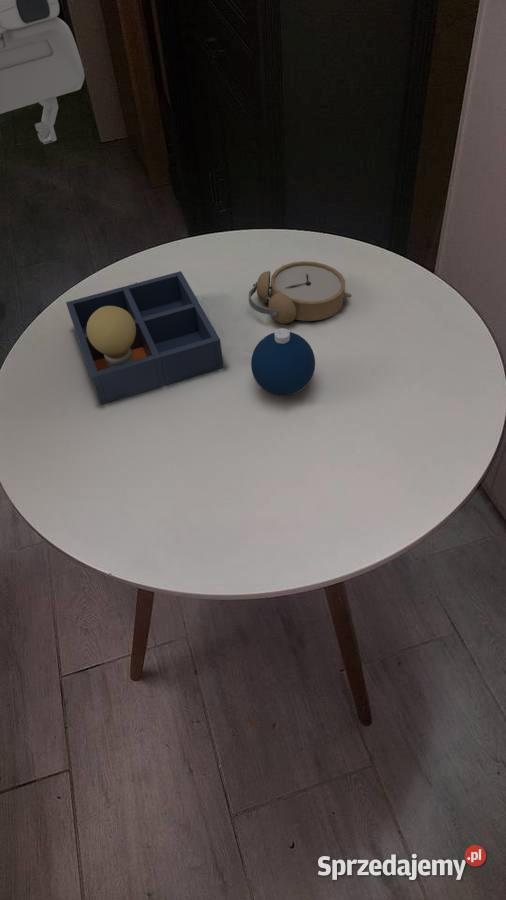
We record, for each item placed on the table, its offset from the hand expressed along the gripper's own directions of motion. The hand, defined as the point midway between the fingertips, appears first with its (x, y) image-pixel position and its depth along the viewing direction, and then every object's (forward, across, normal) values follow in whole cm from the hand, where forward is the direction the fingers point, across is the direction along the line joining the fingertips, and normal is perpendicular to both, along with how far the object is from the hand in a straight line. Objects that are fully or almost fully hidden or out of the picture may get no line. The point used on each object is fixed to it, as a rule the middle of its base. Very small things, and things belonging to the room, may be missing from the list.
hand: (8, 154), depth 74 cm
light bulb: (+30, +4, -5) cm, 31 cm away
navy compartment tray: (+31, +10, -2) cm, 33 cm away
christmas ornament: (+31, +21, -21) cm, 43 cm away
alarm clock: (+31, +33, -8) cm, 46 cm away
